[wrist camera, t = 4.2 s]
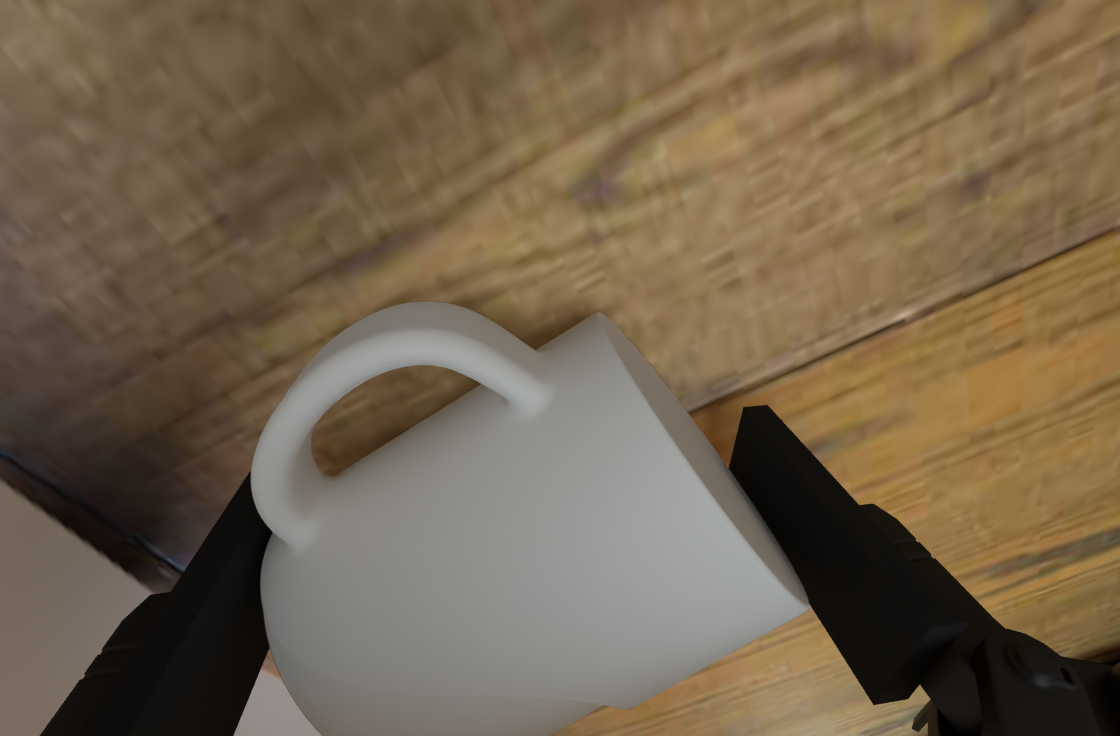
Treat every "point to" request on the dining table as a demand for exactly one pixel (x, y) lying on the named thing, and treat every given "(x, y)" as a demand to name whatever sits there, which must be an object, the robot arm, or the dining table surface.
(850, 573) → the robot arm
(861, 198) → the dining table surface
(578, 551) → the mug
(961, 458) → the dining table surface
